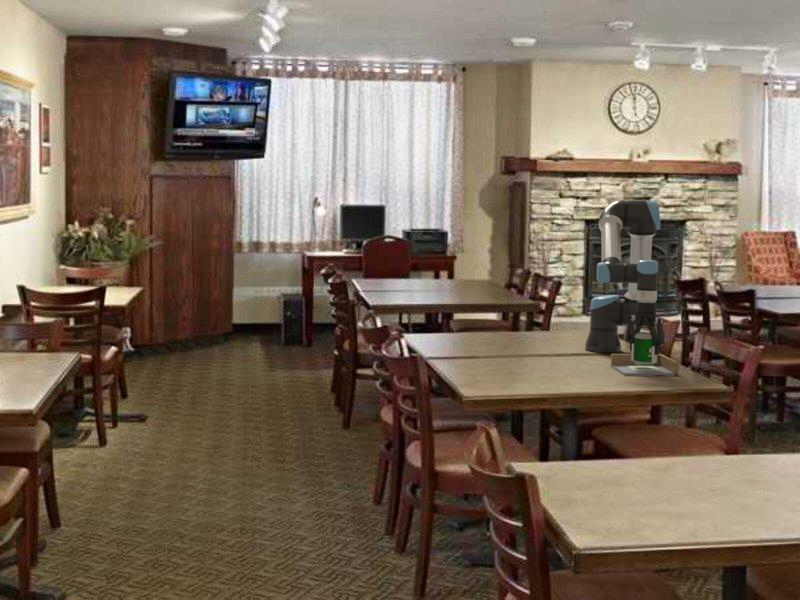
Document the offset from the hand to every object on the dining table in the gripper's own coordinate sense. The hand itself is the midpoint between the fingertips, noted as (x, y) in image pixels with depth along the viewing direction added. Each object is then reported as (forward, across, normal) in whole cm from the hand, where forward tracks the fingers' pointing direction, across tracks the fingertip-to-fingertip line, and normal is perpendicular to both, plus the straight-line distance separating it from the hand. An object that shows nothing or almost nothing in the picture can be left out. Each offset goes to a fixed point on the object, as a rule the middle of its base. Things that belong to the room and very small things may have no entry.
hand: (644, 361), depth 400 cm
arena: (+4, 0, 0) cm, 4 cm away
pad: (+4, 0, 0) cm, 4 cm away
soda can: (+1, 0, 0) cm, 1 cm away
